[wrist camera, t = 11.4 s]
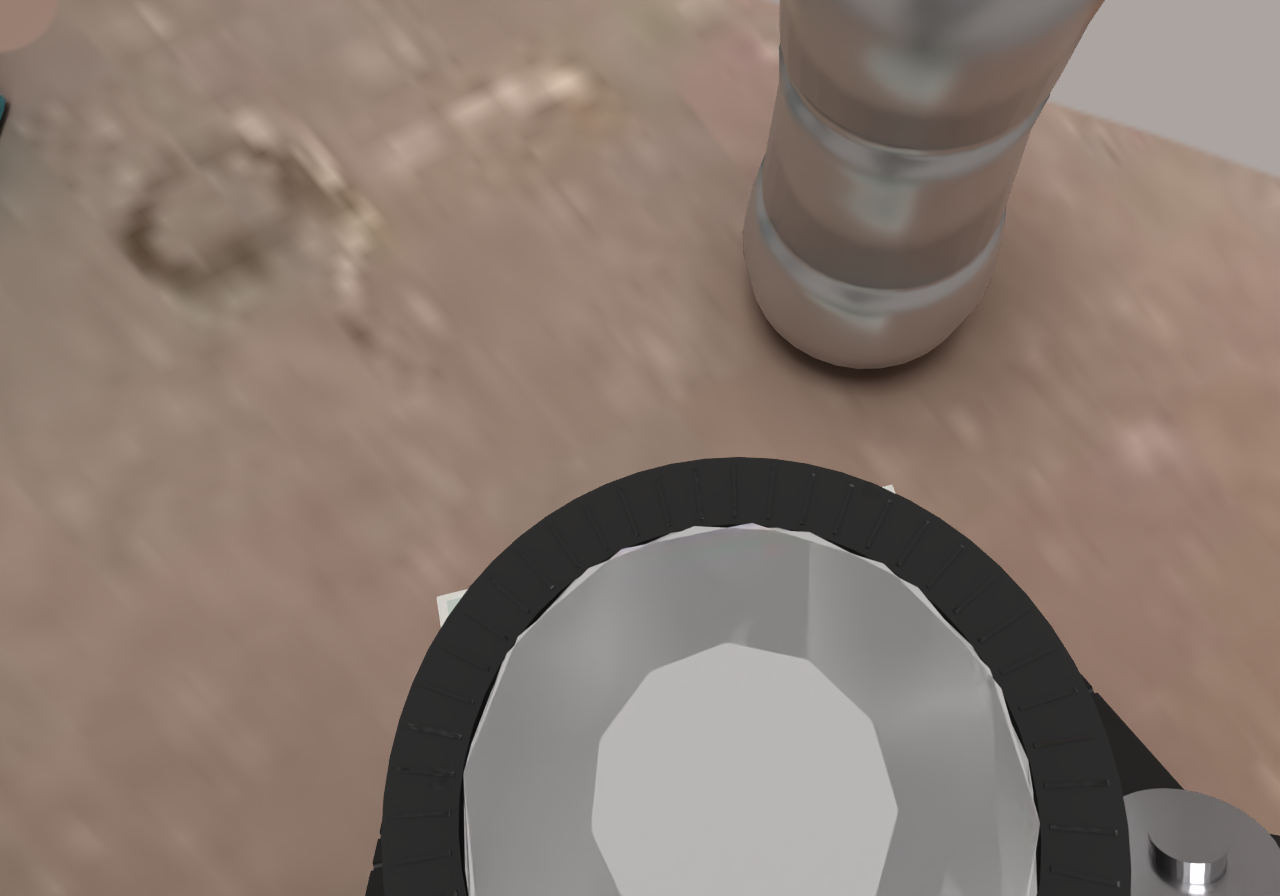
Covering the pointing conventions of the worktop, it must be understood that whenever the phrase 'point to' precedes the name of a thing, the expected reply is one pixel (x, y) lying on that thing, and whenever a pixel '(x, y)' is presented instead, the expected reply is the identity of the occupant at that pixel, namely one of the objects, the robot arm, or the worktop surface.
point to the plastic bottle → (895, 165)
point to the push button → (749, 708)
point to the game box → (2, 105)
